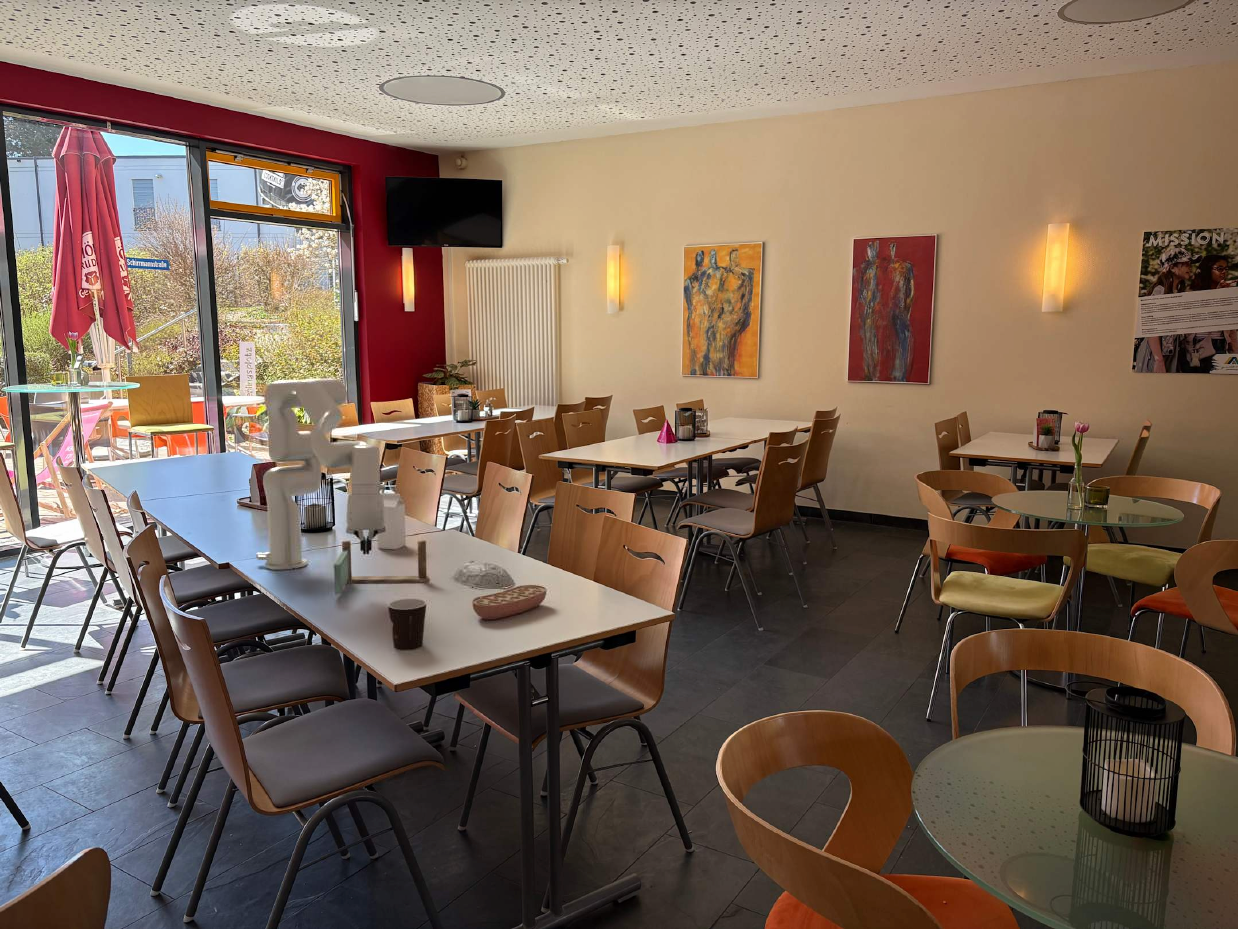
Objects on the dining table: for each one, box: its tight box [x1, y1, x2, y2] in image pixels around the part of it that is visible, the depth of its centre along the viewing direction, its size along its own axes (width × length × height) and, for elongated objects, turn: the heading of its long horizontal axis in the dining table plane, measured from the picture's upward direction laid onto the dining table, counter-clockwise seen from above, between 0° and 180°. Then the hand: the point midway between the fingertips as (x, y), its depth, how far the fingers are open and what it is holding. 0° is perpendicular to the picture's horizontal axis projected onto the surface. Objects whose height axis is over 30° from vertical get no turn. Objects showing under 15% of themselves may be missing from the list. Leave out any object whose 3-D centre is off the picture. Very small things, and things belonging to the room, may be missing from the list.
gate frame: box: [341, 539, 430, 584], centre depth 257 cm, size 25×4×12 cm, turn 94°
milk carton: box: [376, 492, 407, 550], centre depth 301 cm, size 7×7×19 cm
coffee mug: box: [387, 598, 427, 651], centre depth 199 cm, size 12×9×10 cm
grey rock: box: [451, 559, 515, 591], centre depth 259 cm, size 16×25×7 cm, turn 45°
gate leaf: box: [333, 550, 349, 595], centre depth 246 cm, size 19×2×8 cm, turn 10°
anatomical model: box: [471, 584, 547, 621], centre depth 227 cm, size 23×10×5 cm, turn 139°
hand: (366, 553), depth 244 cm, fingers closed
